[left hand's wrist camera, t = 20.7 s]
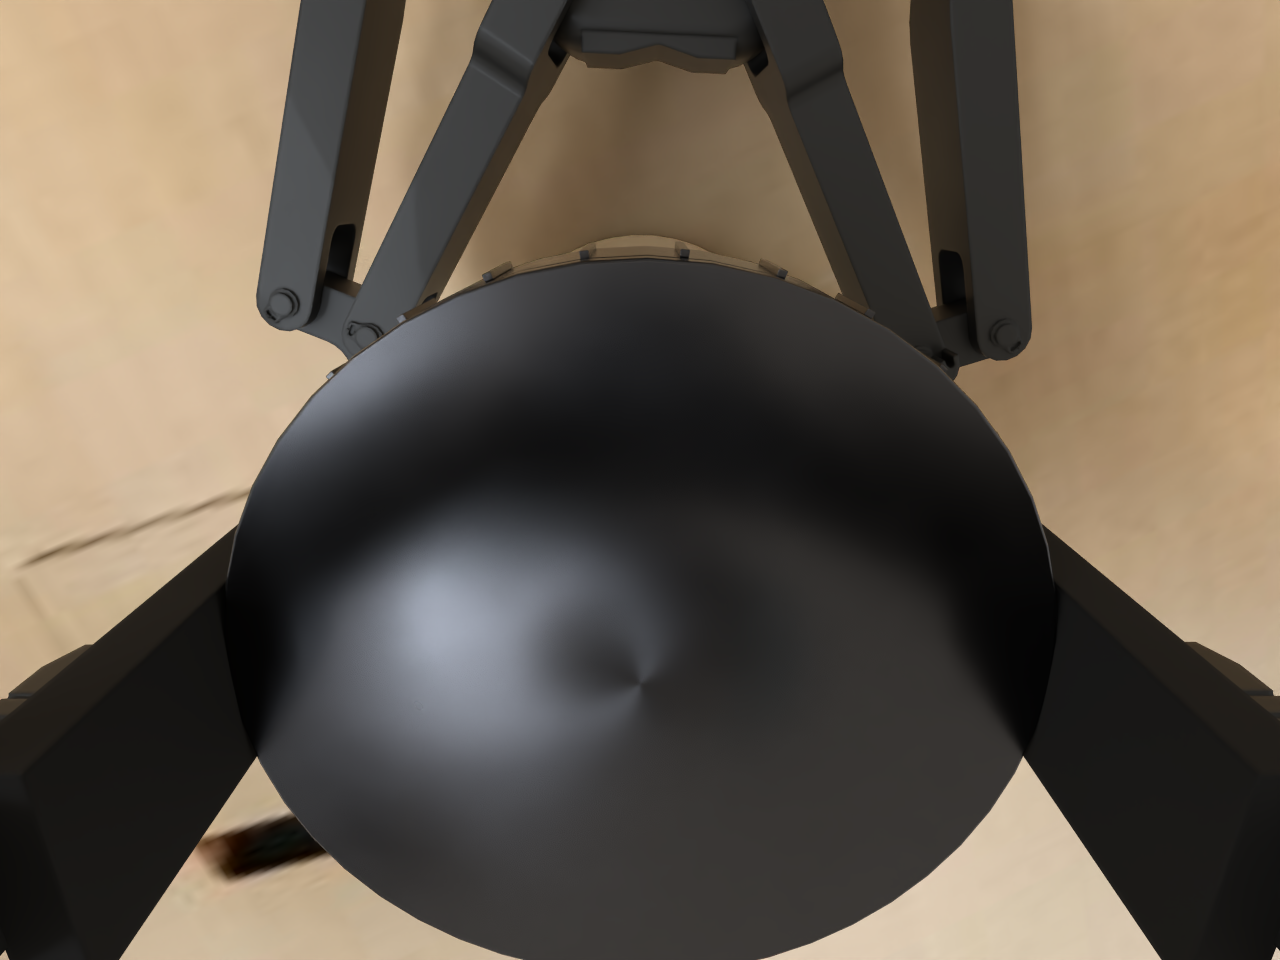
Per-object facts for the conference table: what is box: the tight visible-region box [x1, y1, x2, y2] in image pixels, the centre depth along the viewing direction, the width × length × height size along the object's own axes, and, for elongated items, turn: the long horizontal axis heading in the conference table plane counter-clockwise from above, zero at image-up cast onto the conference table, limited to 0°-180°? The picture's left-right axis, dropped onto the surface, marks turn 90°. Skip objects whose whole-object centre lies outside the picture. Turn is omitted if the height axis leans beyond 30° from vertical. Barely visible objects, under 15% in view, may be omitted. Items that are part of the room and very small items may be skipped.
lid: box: [224, 241, 1056, 960], centre depth 11 cm, size 11×11×2 cm
